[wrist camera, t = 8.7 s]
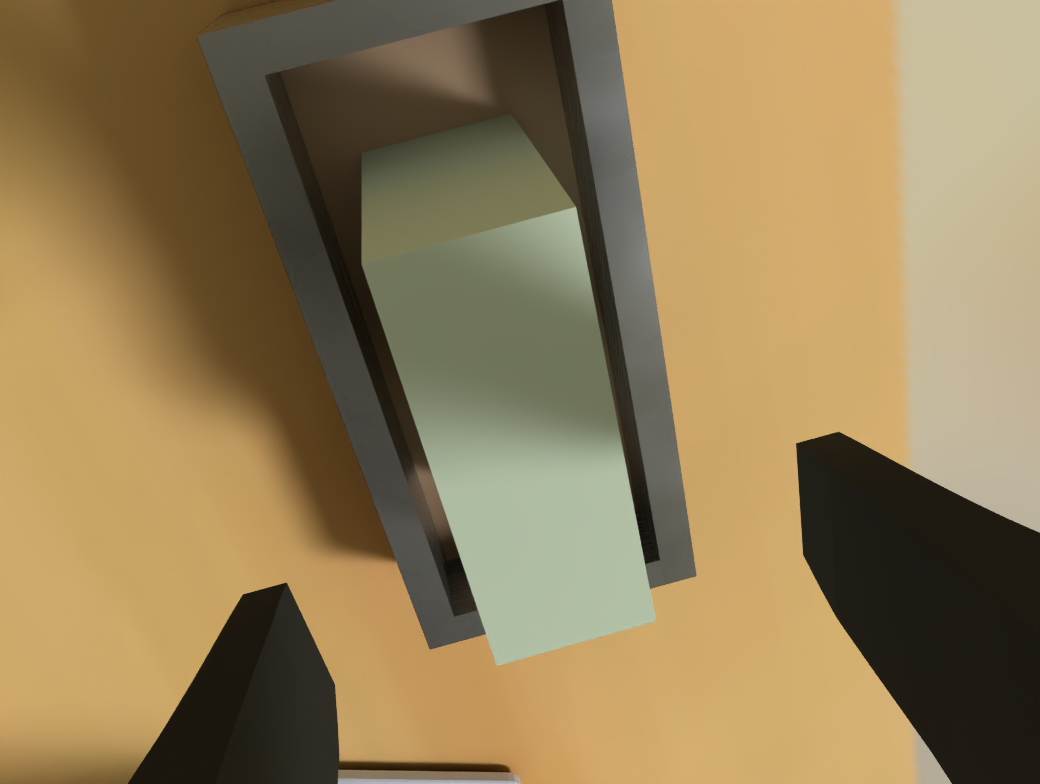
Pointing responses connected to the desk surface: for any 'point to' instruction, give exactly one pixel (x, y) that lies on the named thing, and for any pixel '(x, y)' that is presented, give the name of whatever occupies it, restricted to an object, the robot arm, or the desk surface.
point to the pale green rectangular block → (506, 381)
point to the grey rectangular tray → (338, 225)
